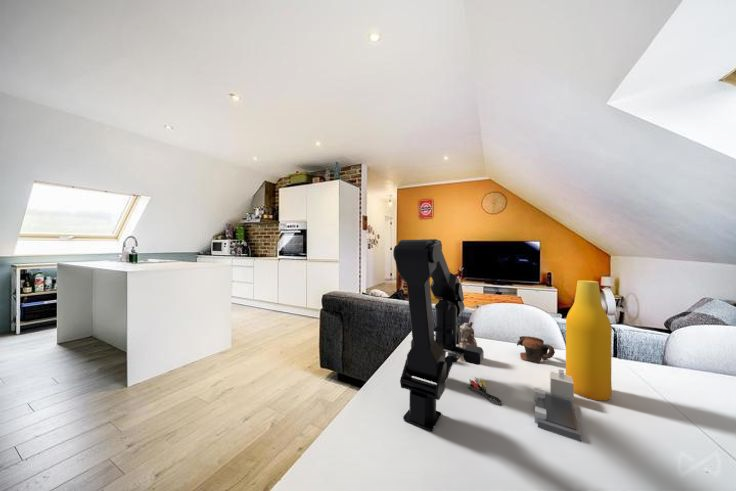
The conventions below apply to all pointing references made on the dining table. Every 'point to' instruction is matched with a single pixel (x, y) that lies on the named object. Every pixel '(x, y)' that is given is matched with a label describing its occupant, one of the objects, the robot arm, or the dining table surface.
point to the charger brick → (561, 385)
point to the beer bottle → (589, 343)
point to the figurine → (466, 337)
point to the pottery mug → (535, 349)
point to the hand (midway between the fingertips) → (445, 379)
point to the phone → (556, 415)
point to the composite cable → (483, 390)
